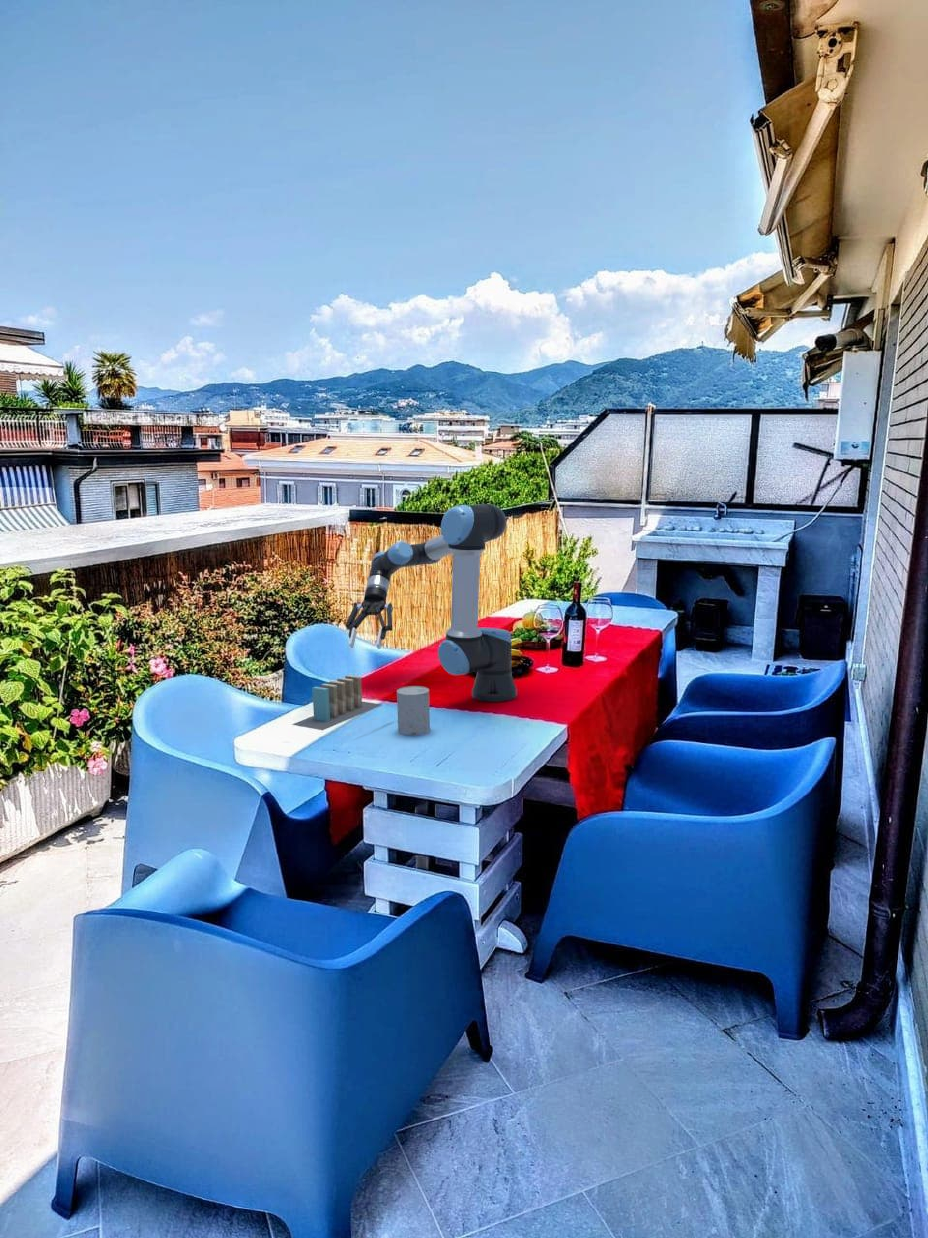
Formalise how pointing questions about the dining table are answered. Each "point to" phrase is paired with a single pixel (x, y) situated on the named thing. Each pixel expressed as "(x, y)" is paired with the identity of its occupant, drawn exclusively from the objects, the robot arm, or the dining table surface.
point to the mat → (324, 725)
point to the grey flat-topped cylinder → (413, 710)
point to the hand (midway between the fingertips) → (364, 646)
